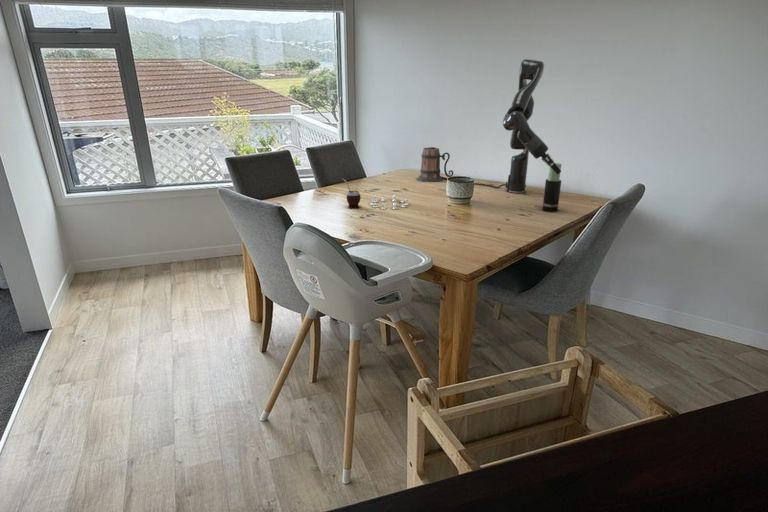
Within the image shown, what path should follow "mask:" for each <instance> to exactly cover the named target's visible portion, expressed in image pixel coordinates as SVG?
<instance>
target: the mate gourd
mask: <svg viewBox="0 0 768 512" xmlns="http://www.w3.org/2000/svg"><path fill="white" fill-rule="evenodd" d="M341 180H343V181H344V182H345V183H346V186H347V188H348V192H347V193H346V202H347V203H348V209H359V204H360V202H361V193H360V192H359V190H351V188H350V185H349V182H348V181H347V180H346V179H344V178H343V177H342V178H341Z"/></svg>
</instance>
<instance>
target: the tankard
mask: <svg viewBox="0 0 768 512" xmlns="http://www.w3.org/2000/svg"><path fill="white" fill-rule="evenodd" d="M446 155H447V159H446V158H445V157H446ZM450 157H451V155H450V153H449V152H444V153H442V155H441V154H440V148H438V147H434V146H429V147H423V148H422V152H421V161H420V162H421V163H420V170H419V171H420V173H419V175H418V177H417V178H416V180H417V181H418V182H425V183H438V182H439V183H440V182H442V181H444V179H443V178H442V177H443V176H441V159H442V160H443V161H445V162H444V165H443V171H444V175H445V176H446V178H451V177H453V175H454V170H453V169H451V170H448V172H447V164H448V162H449V161H450Z"/></svg>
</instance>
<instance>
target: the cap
mask: <svg viewBox="0 0 768 512" xmlns="http://www.w3.org/2000/svg"><path fill="white" fill-rule="evenodd" d="M554 163H555V164H556V165H557V167H558V168H559V169H560V170H561V171H562V163H560V162H554ZM552 165H553V163H552V164H551V166H552ZM560 178H561V172H560V173H559V174H557V173H556V172H555V171H554V170H553V169H552V168H551V167H550V166H549V169H548V177H547V179H548V180H549V181H559V180H561V179H560Z"/></svg>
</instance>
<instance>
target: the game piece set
mask: <svg viewBox="0 0 768 512" xmlns="http://www.w3.org/2000/svg"><path fill="white" fill-rule="evenodd" d="M396 197H397V195H396V194H394V193H393V195H392V200H391V201H392V202H394V203H392V205H393V207H392V209H393V210H398V207H397V203H396V202H397V199H396ZM380 201H381V202H386V199H384V194H382V197H381V200H380ZM370 202H371V203H369V206H372V208H378V205H377V203H378V202H379V201H378V199H377V195H376V194H375V195H374V199H373V198H371V201H370ZM400 203H402V205H401V206H400V208H407V206H409V205H410V204H409V199H408V198H404V199H403V200H401V201H400ZM381 210H386V205H385V204H384V203H382V205H381Z"/></svg>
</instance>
